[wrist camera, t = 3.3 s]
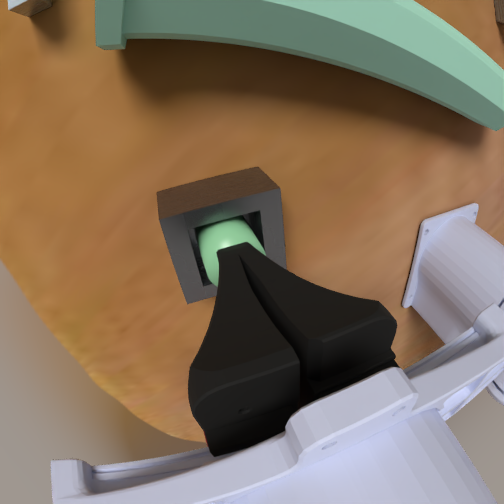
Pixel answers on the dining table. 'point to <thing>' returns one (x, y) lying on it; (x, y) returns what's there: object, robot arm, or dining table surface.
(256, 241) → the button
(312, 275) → the dining table surface
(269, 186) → the grey hollow square block
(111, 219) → the dining table surface
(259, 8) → the green faceted column
